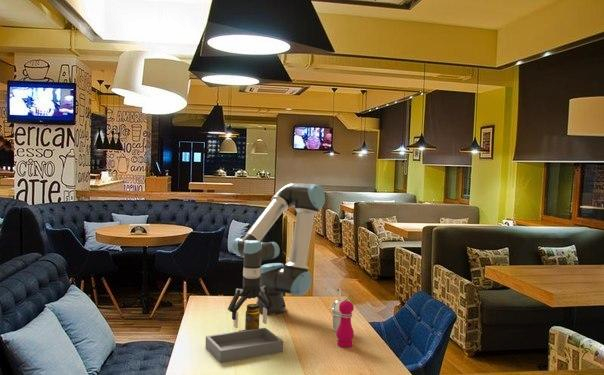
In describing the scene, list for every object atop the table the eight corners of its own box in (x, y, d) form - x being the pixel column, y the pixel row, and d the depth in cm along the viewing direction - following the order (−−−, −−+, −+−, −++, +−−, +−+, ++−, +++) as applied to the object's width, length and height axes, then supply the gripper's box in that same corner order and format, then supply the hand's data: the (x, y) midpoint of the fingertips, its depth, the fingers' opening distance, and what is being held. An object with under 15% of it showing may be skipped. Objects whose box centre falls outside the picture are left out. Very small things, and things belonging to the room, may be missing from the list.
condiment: (262, 333, 226) (263, 306, 225) (245, 336, 221) (246, 308, 220) (254, 328, 232) (255, 301, 231) (237, 331, 227) (238, 304, 226)
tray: (265, 338, 220) (265, 327, 220) (283, 352, 205) (283, 341, 205) (205, 347, 207) (205, 336, 207) (220, 362, 192) (220, 350, 192)
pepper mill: (357, 345, 216) (359, 297, 214) (346, 349, 210) (348, 300, 209) (343, 340, 220) (345, 293, 219) (332, 344, 215) (334, 297, 214)
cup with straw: (351, 330, 233) (353, 286, 232) (340, 335, 226) (342, 290, 225) (336, 325, 239) (338, 282, 238) (324, 330, 232) (326, 286, 231)
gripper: (227, 281, 215) (226, 331, 217) (281, 276, 227) (279, 323, 229) (221, 277, 222) (219, 325, 223) (274, 272, 234) (272, 318, 235)
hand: (250, 325), depth 226 cm, fingers open, 13 cm apart
